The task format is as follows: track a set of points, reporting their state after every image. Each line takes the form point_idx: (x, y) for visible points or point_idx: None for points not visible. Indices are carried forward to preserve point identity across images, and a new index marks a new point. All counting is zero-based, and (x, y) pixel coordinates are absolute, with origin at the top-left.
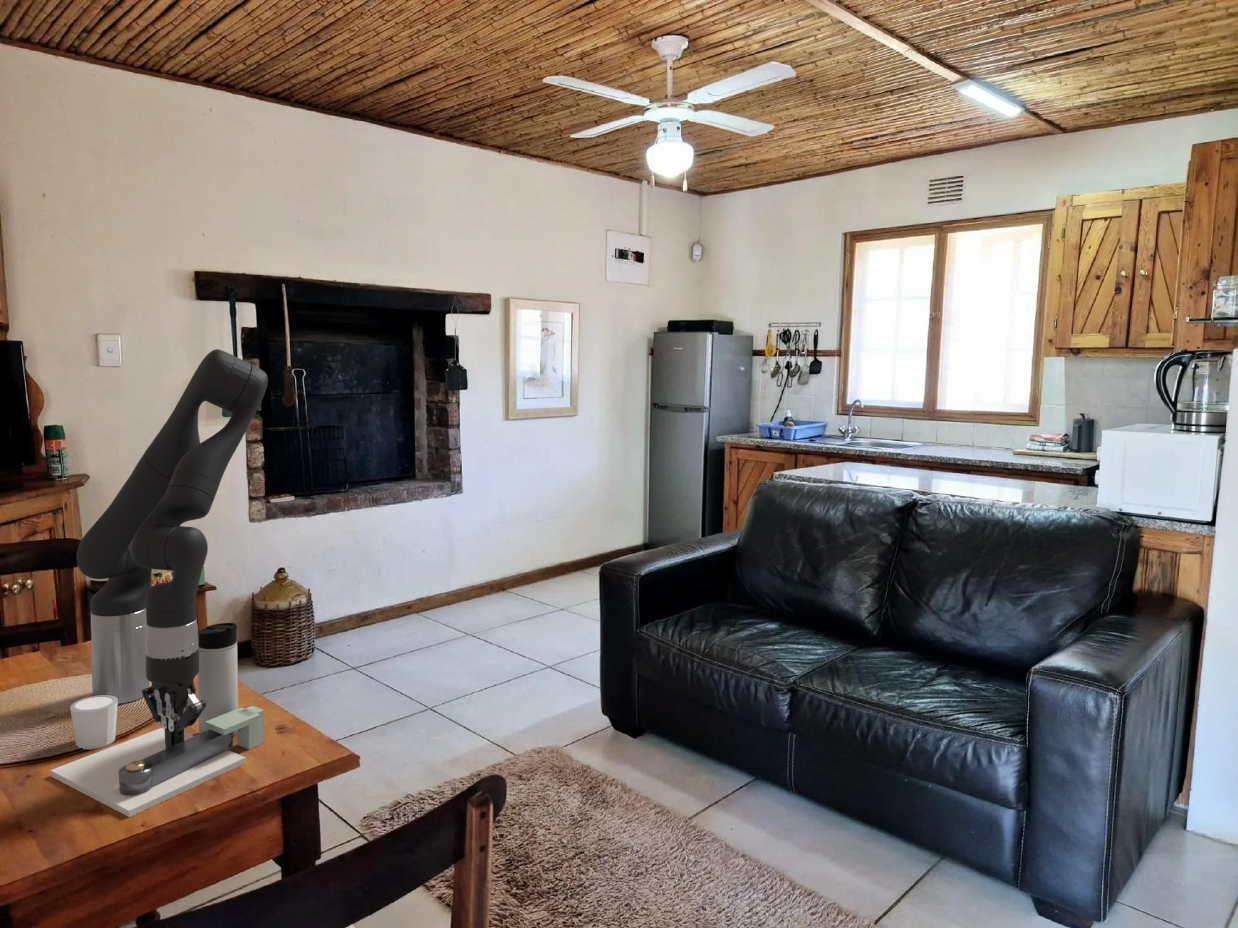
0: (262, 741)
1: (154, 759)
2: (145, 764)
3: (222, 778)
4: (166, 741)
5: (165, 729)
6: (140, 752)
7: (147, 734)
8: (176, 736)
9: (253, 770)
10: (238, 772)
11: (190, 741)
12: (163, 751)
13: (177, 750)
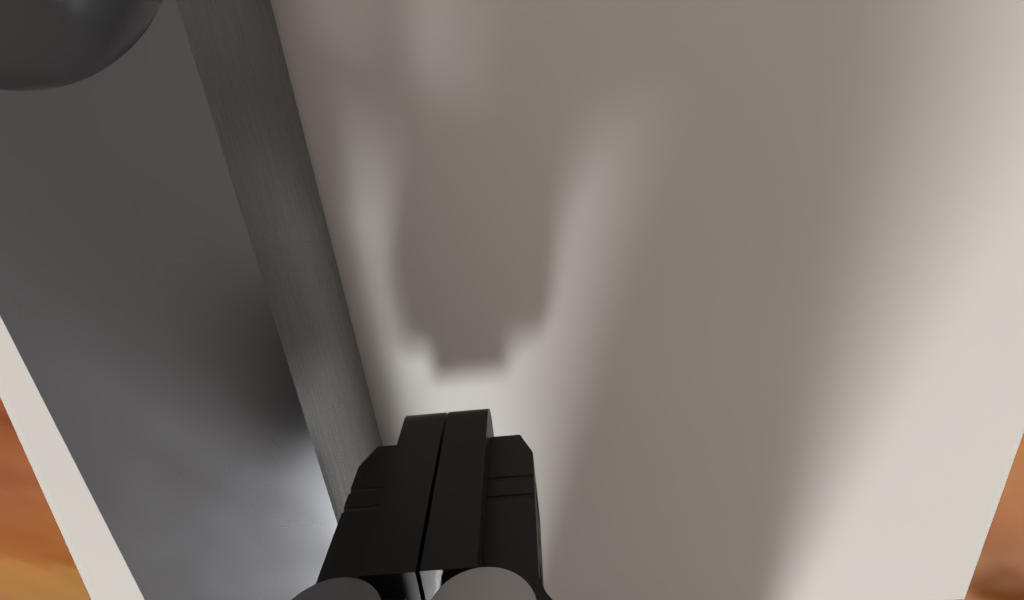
0: None
1: (91, 170)
2: (7, 21)
3: (14, 446)
4: (469, 459)
5: (473, 566)
6: (776, 302)
7: (987, 469)
8: (327, 552)
9: (5, 585)
10: (36, 532)
11: (285, 572)
12: (246, 334)
13: (165, 425)
